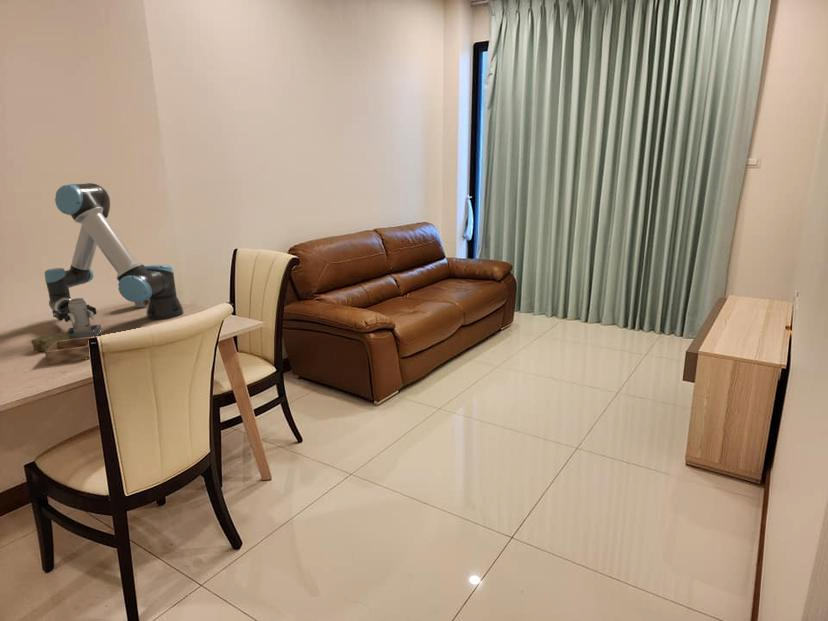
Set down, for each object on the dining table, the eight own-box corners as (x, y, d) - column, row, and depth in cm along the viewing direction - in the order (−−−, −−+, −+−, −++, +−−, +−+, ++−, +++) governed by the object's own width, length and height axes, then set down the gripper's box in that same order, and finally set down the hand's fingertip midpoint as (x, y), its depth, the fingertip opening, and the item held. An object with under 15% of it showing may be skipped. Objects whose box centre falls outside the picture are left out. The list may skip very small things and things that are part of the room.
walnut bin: (97, 347, 195) (95, 336, 194) (90, 358, 183) (88, 346, 182) (57, 352, 191) (54, 341, 190) (47, 364, 179) (44, 352, 178)
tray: (101, 330, 218) (100, 324, 217) (96, 337, 208) (95, 331, 207) (71, 333, 214) (70, 327, 213) (64, 341, 204) (63, 335, 203)
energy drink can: (92, 336, 210) (84, 300, 206) (74, 338, 207) (66, 302, 203) (92, 332, 215) (85, 297, 211) (75, 334, 212) (67, 299, 208)
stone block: (72, 343, 202) (69, 331, 200) (43, 353, 191) (40, 340, 190) (61, 342, 204) (58, 330, 202) (32, 352, 193) (29, 339, 192)
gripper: (94, 311, 228) (111, 321, 213) (43, 321, 215) (57, 332, 200) (90, 295, 226) (107, 303, 211) (38, 304, 213) (52, 313, 198)
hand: (83, 317), depth 205 cm, fingers closed on energy drink can, 6 cm apart
